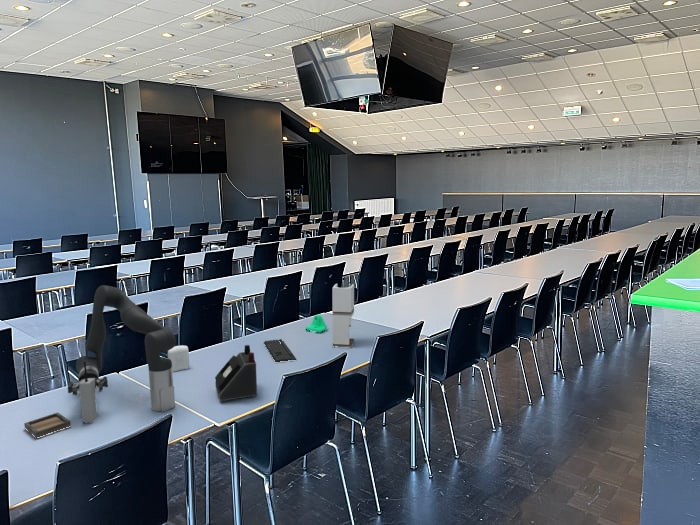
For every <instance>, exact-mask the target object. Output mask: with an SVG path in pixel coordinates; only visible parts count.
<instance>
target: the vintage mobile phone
mask: <svg viewBox="0 0 700 525" xmlns="http://www.w3.org/2000/svg"><path fill="white" fill-rule="evenodd" d="M84 369H85V379H84V380H83V381H82V382H81V383H80V384H79V385H80V391H79V394H80V404H81V414H82V415H81V416H82V423H83V422H93V421H94V420H95V419H96V418H97V417H98V418H99V414H98V412H97V401H96V400H97V399H96V388H95V378H87V372H86V361H84ZM98 418H97V419H98ZM97 419H96V420H97ZM96 420H95V421H96ZM95 421H94V422H95ZM94 422H93V423H94Z"/></svg>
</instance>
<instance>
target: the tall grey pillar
mask: <svg viewBox="0 0 700 525" xmlns="http://www.w3.org/2000/svg"><path fill="white" fill-rule="evenodd" d="M331 294H332V296H331V297H332V302H331V303H332V347H333V346H334V347H333V348H336V347H335V346H338V347H351V346H352V347H353V345H354V343H353V342H355V338H350V328H351V326H352V317H353V316H354V314H355V284H354V283H353V284H351V286H349V287H338V283H335V284H334V285H333V287H332V293H331ZM352 344H353V345H352ZM352 347H351V348H352Z"/></svg>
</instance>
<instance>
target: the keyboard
mask: <svg viewBox="0 0 700 525" xmlns="http://www.w3.org/2000/svg"><path fill="white" fill-rule="evenodd" d="M282 340H283V339H281V338H279V339H271V340H264V341H263V345H264V344H265V345H266V346H265V345H264V346H265V348H266V347H267V348H266V350H267V349H268V350H269V351H268V350H267V351H268V353H269V352H270V353H269V355H270V354H271V355H272V356H271V355H270V356H271V358H272V357H273V358H272V360H273V359H274V360H275V361H274V360H273V361H274V363H275V362H280V361H288V360H296V361H297V358H296V356H295V355H294V353H293V352H292V351H291V350H290V348H289V346H287V344H286V343H285V341H284V340H283V341H282ZM279 341H280V342H281V344H280V342H279Z"/></svg>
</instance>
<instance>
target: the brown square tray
mask: <svg viewBox="0 0 700 525" xmlns="http://www.w3.org/2000/svg"><path fill="white" fill-rule="evenodd" d="M69 426H71V427H72V423H71V420H69V419H68V418H66V417H65V416H64V415H62V413H59V412H54V413H52V414H49V415H45V416H43V417H39V418H37V419H33V420H29V421H28V422H24V429H25V428H26V429H27V430H28V431H29V432H30V433H31V434H33V435H34V436H35V437H36V438H37V437H40V436H43V435H46V434H48V433H51V432H54V431H57V430H60V429H63V428H66V427H69ZM29 432H28V433H29ZM30 433H29V434H30ZM31 434H30V435H31ZM36 438H35V439H36Z"/></svg>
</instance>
